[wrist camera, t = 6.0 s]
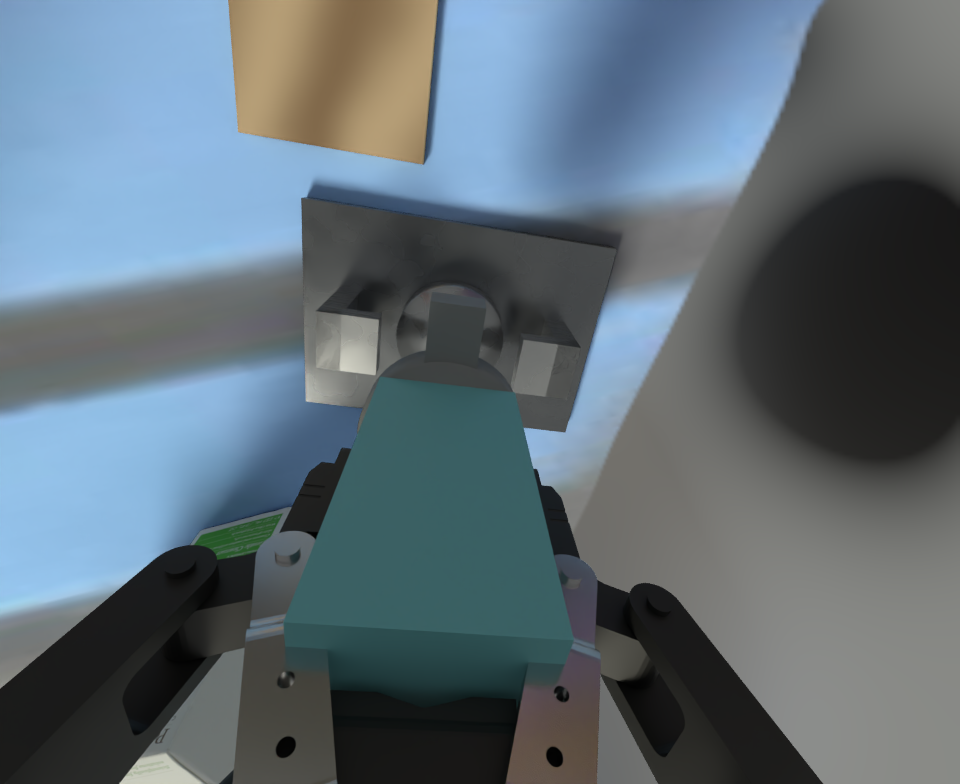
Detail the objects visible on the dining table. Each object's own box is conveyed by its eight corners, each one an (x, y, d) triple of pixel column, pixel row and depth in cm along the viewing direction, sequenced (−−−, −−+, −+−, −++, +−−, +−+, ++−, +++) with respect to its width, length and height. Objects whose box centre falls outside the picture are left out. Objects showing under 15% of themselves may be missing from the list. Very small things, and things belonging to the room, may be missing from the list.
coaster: (243, 132, 22) (238, 132, 22) (226, -118, 18) (218, -127, 18) (423, 164, 23) (423, 164, 22) (444, -69, 19) (444, -75, 18)
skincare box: (295, 502, 33) (171, 749, 19) (334, 563, 36) (252, 814, 22) (195, 530, 34) (6, 784, 20) (241, 587, 37) (104, 843, 23)
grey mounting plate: (309, 395, 29) (281, 437, 24) (306, 197, 24) (269, 204, 19) (562, 426, 31) (579, 470, 26) (612, 246, 25) (645, 264, 21)
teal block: (370, 283, 15) (214, 476, 6) (544, 307, 16) (669, 518, 6) (361, 511, 19) (266, 834, 10) (497, 523, 20) (528, 839, 10)
